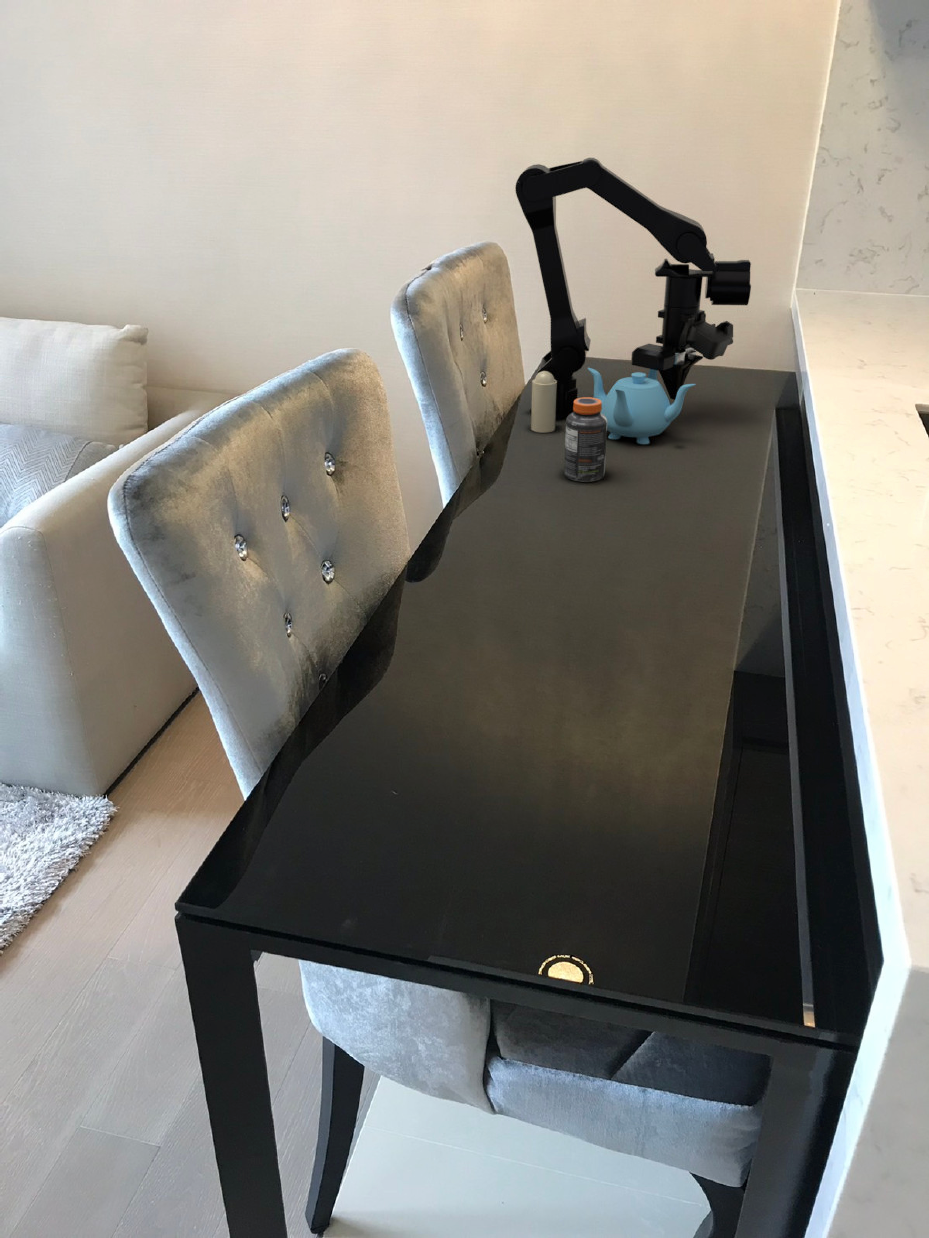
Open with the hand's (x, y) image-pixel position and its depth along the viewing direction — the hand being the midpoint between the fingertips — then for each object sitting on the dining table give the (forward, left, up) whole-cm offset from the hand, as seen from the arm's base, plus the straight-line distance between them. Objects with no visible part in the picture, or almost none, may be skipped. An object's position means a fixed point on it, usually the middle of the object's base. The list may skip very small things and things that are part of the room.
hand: (673, 399), depth 169 cm
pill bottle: (+6, -32, -3) cm, 32 cm away
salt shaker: (-12, -20, -3) cm, 23 cm away
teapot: (+1, -12, -3) cm, 12 cm away
